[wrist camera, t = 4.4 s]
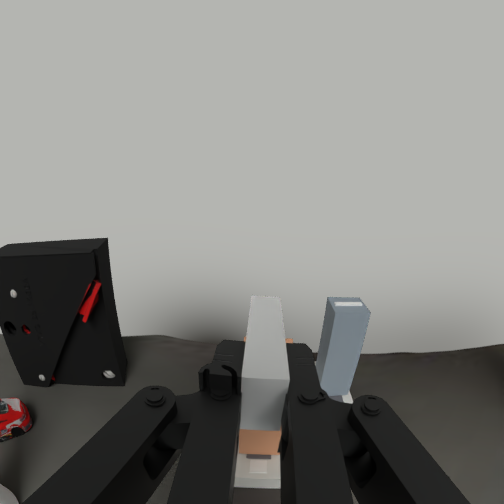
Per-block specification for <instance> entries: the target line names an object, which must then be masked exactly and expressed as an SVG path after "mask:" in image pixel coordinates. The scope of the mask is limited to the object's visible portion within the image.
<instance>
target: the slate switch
mask: <svg viewBox="0 0 504 504" xmlns="http://www.w3.org/2000/svg"><path fill="white" fill-rule="evenodd" d="M369 317H370V311H369V310H368V308H367V307H366V306H365V305H364V303H363V302H362V301H361V299H360V298H341V297H339V298H337V297H334V298H333V297H328V298H327V304H326V311H325V317H324V323H323V329H322V335H321V340H320V346H319V351H318V356H317V361H316V369H317V374H318V378H319V382H320V386H321V388H322V389H323V390H324V391H326V392H327V394H328V396H338V395H348V392H349V389H350V386H351V383H352V380H353V377H354V373H355V370H356V367H357V363H358V360H359V356H360V353H361V349H362V346H363V342H364V338H365V334H366V330H367V326H368V322H369Z"/></svg>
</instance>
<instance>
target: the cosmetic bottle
mask: <svg viewBox="0 0 504 504" xmlns="http://www.w3.org/2000/svg"><path fill="white" fill-rule="evenodd" d="M0 504H19V503H18V500H17V499H16V497H15V495H14V494H13V493H12V492H11V491H10V490H9V489H7V488H6V487H4V486H3V485H1V484H0Z"/></svg>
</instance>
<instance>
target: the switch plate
mask: <svg viewBox="0 0 504 504" xmlns="http://www.w3.org/2000/svg"><path fill="white" fill-rule="evenodd" d="M315 365H316V361H315ZM329 398H331V399H333V400H336V401H339V402H345V403H351V404H352V403H353V400H352V397H351V394H350V391H349V392H348V395H338V396H329ZM234 487H245V488H281V481H280V455H260V454H241V453H239V445H238V454H237V463H236V472H235V482H234Z"/></svg>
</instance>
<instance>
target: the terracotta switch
mask: <svg viewBox="0 0 504 504" xmlns="http://www.w3.org/2000/svg"><path fill="white" fill-rule="evenodd" d="M244 341H245V342H246V337H244ZM285 341H286V343H293V339H285ZM280 438H281V428H280V431H266V430H247V429H240V431H239V453H241V454H260V455H280V453H277V451H278V447H279V442H280Z"/></svg>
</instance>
